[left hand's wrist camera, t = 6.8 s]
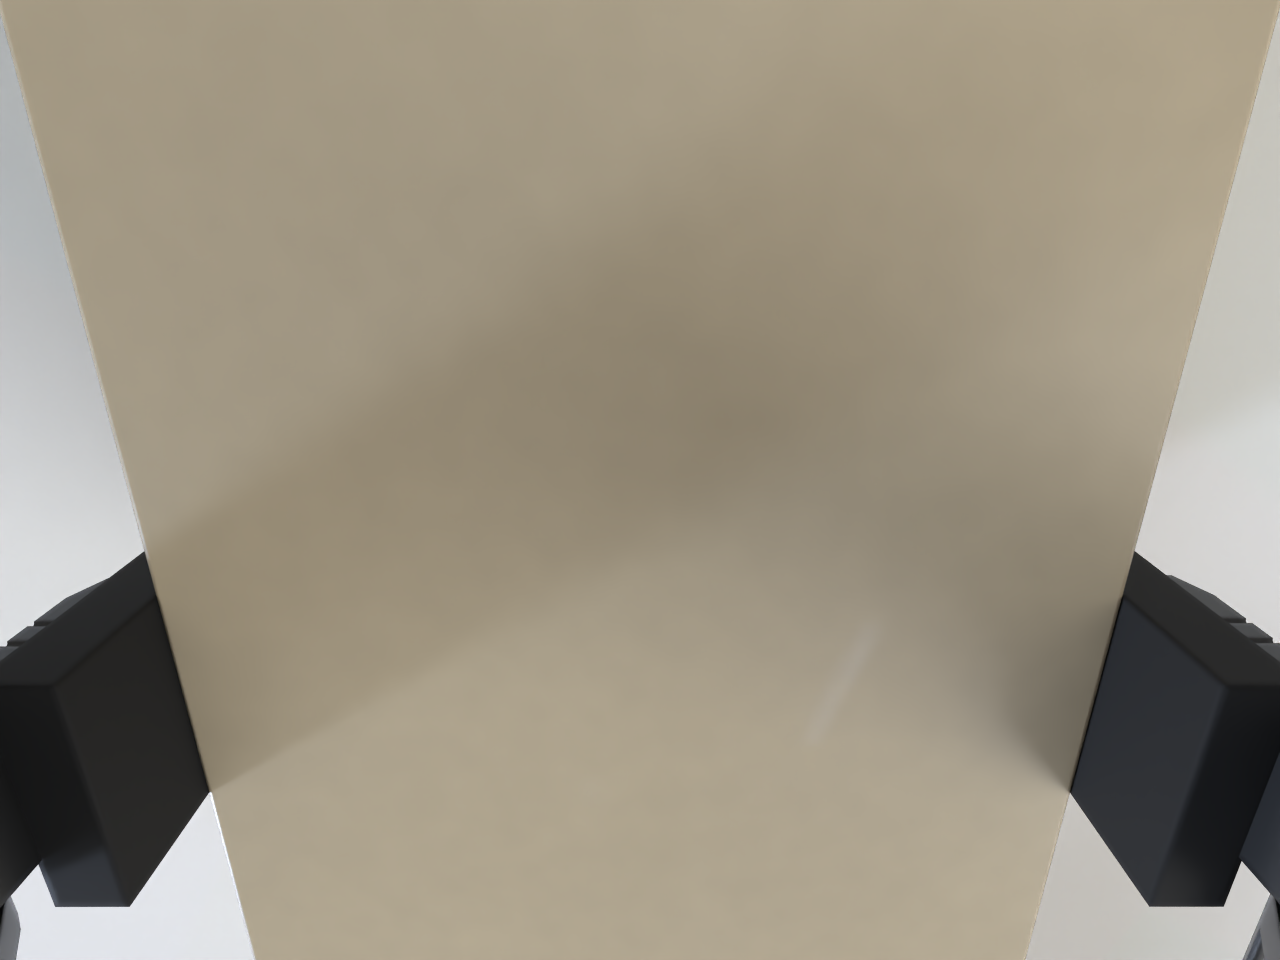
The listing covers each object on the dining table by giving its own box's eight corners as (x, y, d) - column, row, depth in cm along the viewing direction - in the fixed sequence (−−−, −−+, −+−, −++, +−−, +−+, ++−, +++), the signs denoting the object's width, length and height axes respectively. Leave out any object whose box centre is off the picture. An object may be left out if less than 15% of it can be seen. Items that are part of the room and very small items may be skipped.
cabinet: (312, -392, 12) (-490, -1784, 4) (966, -392, 12) (1768, -1791, 3) (430, 611, 19) (255, 974, 10) (848, 611, 19) (1024, 974, 10)
